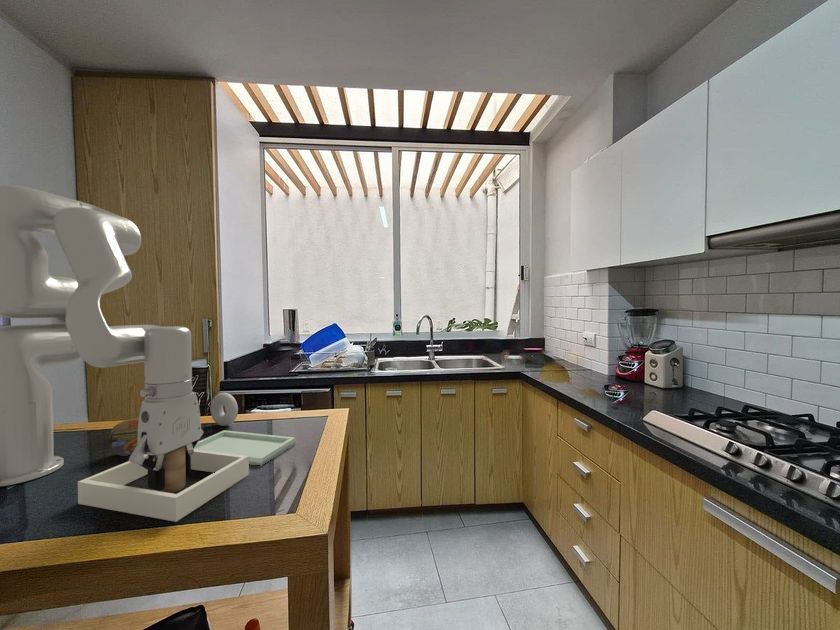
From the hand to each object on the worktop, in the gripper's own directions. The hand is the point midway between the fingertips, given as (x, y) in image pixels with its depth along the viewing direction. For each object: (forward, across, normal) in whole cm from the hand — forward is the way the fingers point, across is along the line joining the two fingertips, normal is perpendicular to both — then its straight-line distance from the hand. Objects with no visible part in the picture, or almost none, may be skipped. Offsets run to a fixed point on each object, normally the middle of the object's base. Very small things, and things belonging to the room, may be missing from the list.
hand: (170, 480), depth 69 cm
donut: (+2, +33, +18) cm, 38 cm away
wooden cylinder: (+2, 0, 0) cm, 2 cm away
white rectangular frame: (+1, 0, 0) cm, 1 cm away
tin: (+2, +13, +22) cm, 26 cm away
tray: (+1, +19, 0) cm, 19 cm away
